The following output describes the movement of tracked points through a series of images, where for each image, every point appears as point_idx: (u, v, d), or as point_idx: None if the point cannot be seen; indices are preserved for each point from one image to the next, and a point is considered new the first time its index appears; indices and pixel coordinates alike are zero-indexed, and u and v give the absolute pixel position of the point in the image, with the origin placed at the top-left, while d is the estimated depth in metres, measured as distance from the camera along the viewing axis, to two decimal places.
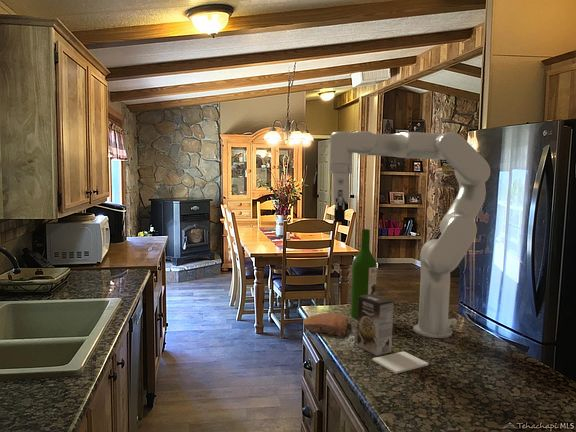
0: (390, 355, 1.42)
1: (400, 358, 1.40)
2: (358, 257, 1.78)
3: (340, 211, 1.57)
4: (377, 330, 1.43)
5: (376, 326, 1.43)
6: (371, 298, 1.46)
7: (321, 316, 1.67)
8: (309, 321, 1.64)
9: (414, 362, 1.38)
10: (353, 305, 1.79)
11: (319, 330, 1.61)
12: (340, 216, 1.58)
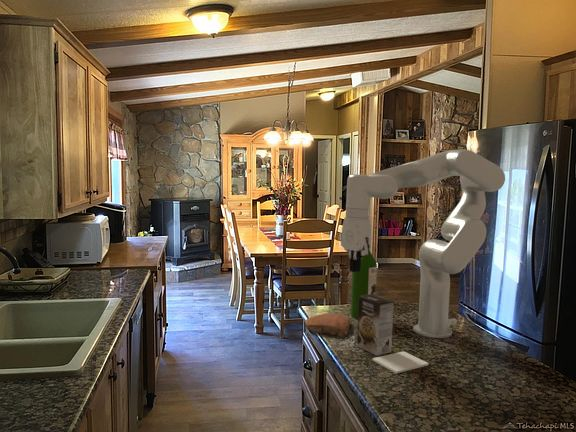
0: (390, 355, 1.42)
1: (400, 358, 1.40)
2: None
3: None
4: (377, 330, 1.43)
5: (376, 326, 1.43)
6: (371, 298, 1.46)
7: (323, 317, 1.66)
8: (310, 322, 1.64)
9: (414, 362, 1.38)
10: (353, 305, 1.79)
11: (320, 331, 1.61)
12: None
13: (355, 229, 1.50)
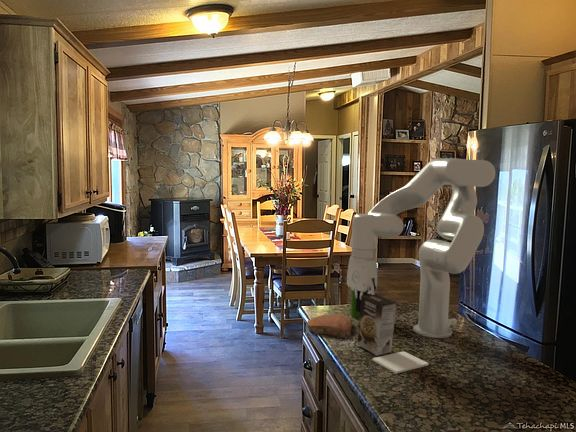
0: (390, 355, 1.42)
1: (400, 358, 1.40)
2: None
3: None
4: (378, 330, 1.42)
5: (377, 326, 1.42)
6: (374, 298, 1.45)
7: (325, 317, 1.66)
8: (312, 322, 1.63)
9: (414, 362, 1.38)
10: (353, 305, 1.79)
11: (322, 332, 1.60)
12: None
13: (361, 270, 1.48)
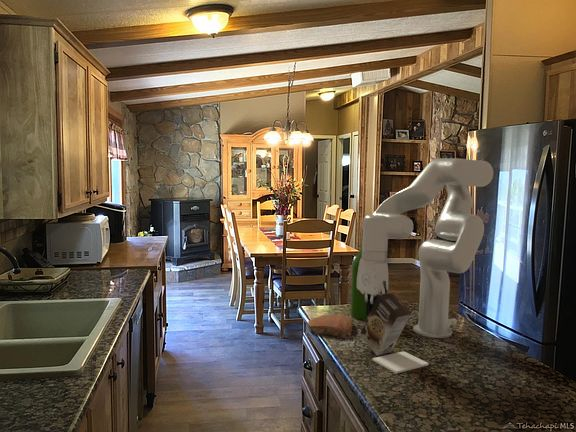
0: (390, 355, 1.42)
1: (400, 358, 1.40)
2: (358, 257, 1.78)
3: None
4: (385, 336, 1.40)
5: (386, 332, 1.39)
6: (390, 303, 1.40)
7: (326, 318, 1.65)
8: (313, 323, 1.63)
9: (414, 362, 1.38)
10: (353, 305, 1.79)
11: (323, 332, 1.60)
12: None
13: (372, 273, 1.43)
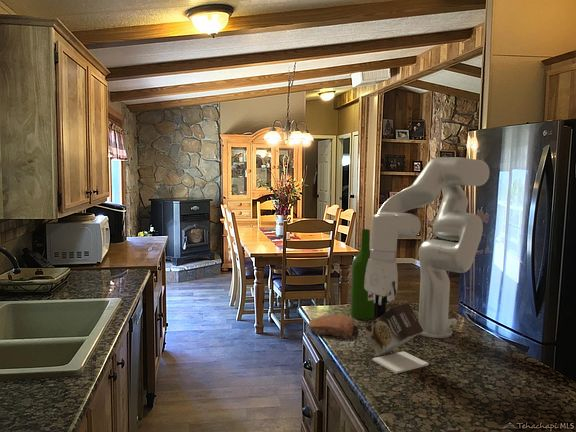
0: (390, 355, 1.42)
1: (400, 358, 1.40)
2: (358, 257, 1.78)
3: None
4: (390, 346, 1.38)
5: (392, 343, 1.37)
6: (404, 318, 1.34)
7: (327, 318, 1.65)
8: (314, 323, 1.62)
9: (414, 362, 1.38)
10: (353, 305, 1.79)
11: (324, 332, 1.59)
12: None
13: (381, 273, 1.39)
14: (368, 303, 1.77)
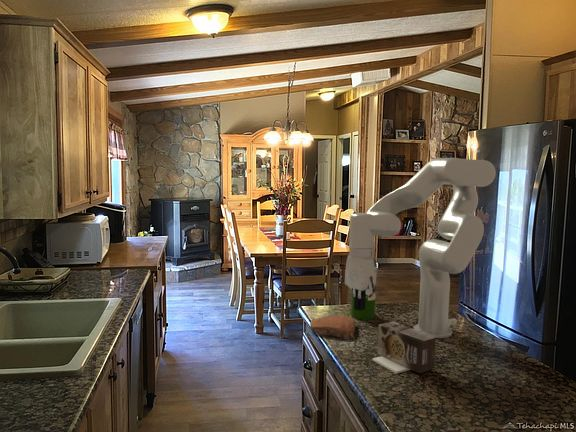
0: None
1: None
2: None
3: None
4: (396, 362, 1.37)
5: (399, 361, 1.36)
6: (424, 355, 1.30)
7: (328, 318, 1.64)
8: (315, 324, 1.62)
9: None
10: (353, 305, 1.79)
11: (326, 333, 1.59)
12: None
13: (359, 269, 1.49)
14: (368, 303, 1.77)
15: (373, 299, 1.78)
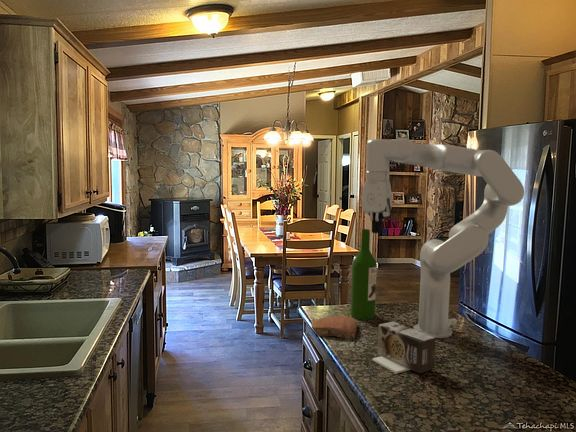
0: None
1: None
2: (358, 257, 1.78)
3: None
4: (396, 362, 1.37)
5: (399, 361, 1.36)
6: (424, 355, 1.30)
7: (329, 319, 1.64)
8: (317, 324, 1.61)
9: None
10: (353, 305, 1.79)
11: (327, 333, 1.58)
12: None
13: (377, 191, 1.57)
14: (368, 303, 1.77)
15: (373, 299, 1.78)
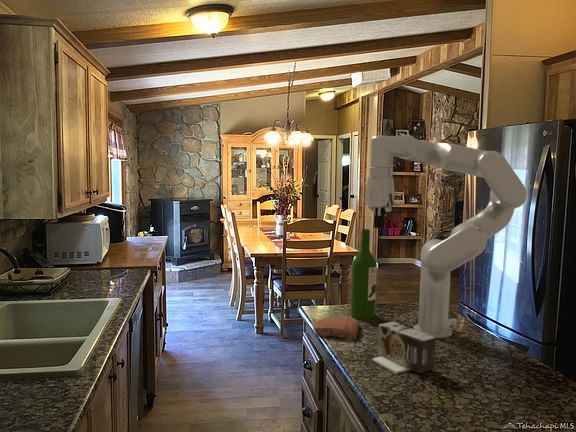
0: None
1: None
2: (358, 257, 1.78)
3: None
4: (396, 362, 1.37)
5: (399, 361, 1.36)
6: (424, 355, 1.30)
7: (331, 319, 1.63)
8: (318, 325, 1.61)
9: None
10: (353, 305, 1.79)
11: (329, 334, 1.58)
12: None
13: (379, 186, 1.59)
14: (368, 303, 1.77)
15: (373, 299, 1.78)
